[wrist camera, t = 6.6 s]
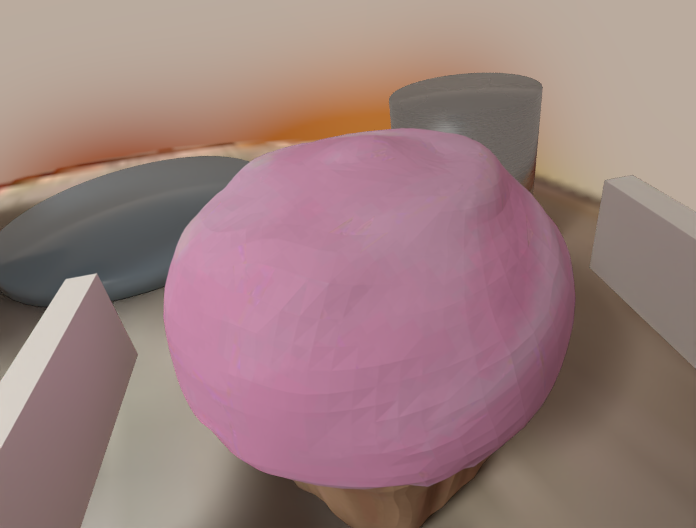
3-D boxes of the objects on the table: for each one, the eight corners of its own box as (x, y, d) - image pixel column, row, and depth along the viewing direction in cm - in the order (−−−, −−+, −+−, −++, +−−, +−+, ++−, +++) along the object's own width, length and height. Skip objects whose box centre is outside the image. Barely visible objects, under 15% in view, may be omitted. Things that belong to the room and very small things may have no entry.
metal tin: (407, 308, 20) (392, 123, 16) (399, 241, 25) (386, 83, 21) (543, 297, 20) (565, 102, 16) (509, 230, 25) (519, 66, 20)
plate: (-78, 320, 25) (-92, 301, 24) (83, 183, 39) (77, 170, 38) (243, 291, 23) (236, 271, 22) (289, 160, 37) (286, 145, 37)
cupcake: (591, 435, 14) (669, 94, 9) (429, 743, 9) (383, 390, 4) (364, 327, 20) (327, 74, 14) (184, 486, 15) (22, 187, 9)
